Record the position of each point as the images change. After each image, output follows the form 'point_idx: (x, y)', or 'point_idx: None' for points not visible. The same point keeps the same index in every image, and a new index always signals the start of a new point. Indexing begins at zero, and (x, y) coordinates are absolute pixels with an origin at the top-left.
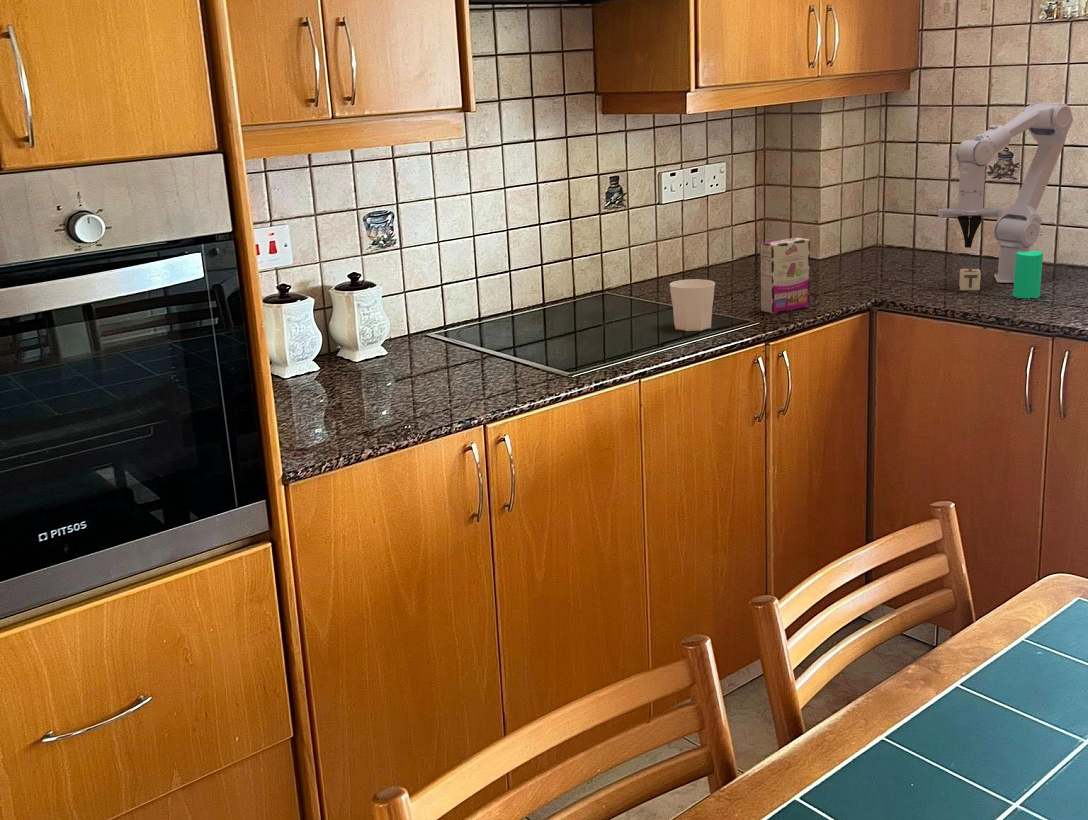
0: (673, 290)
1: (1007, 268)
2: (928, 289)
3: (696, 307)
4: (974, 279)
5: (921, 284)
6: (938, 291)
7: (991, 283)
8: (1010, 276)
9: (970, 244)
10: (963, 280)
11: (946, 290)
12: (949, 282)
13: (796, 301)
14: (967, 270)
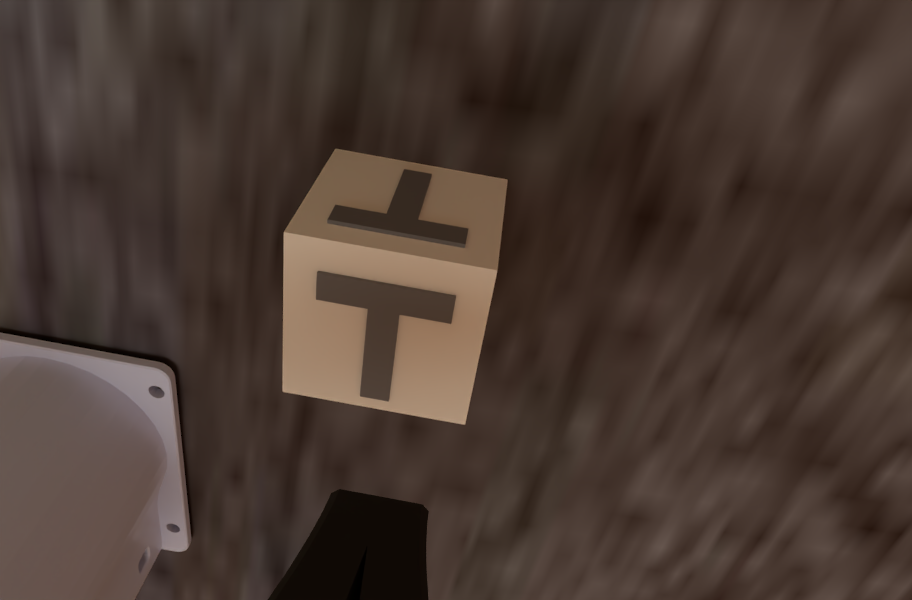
0: None
1: (49, 449)
2: (788, 244)
3: None
4: (365, 206)
5: (752, 425)
6: (735, 144)
7: (218, 372)
8: (57, 389)
9: (335, 527)
10: (476, 218)
11: (640, 178)
12: (515, 448)
13: None
14: (409, 347)
